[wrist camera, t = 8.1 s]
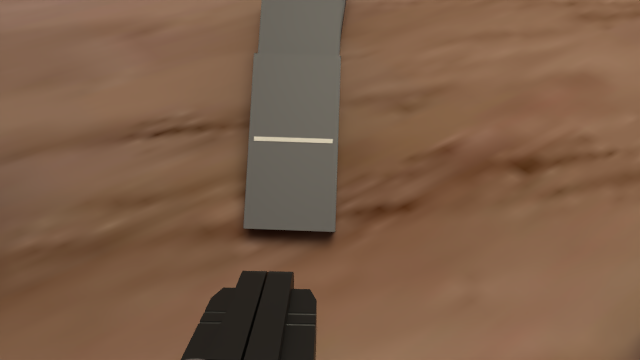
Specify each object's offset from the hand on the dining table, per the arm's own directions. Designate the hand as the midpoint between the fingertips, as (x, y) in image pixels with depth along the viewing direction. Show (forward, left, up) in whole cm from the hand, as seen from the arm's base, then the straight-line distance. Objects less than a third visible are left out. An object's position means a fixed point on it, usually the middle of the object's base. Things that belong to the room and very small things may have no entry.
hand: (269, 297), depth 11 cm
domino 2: (-4, +3, -9) cm, 10 cm away
